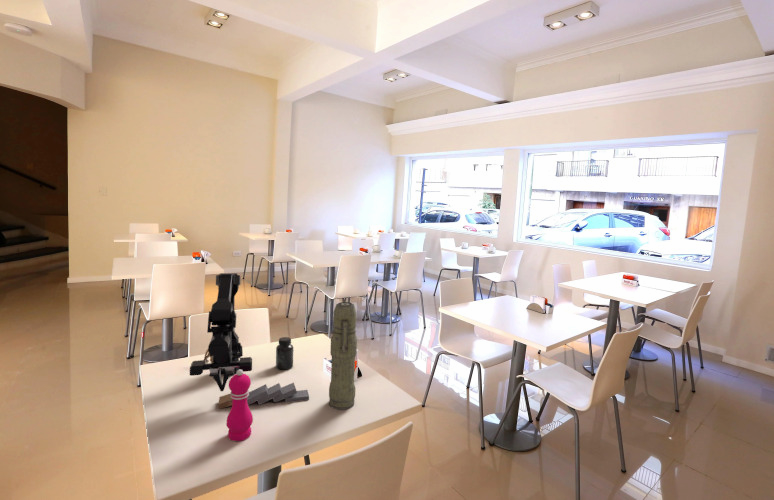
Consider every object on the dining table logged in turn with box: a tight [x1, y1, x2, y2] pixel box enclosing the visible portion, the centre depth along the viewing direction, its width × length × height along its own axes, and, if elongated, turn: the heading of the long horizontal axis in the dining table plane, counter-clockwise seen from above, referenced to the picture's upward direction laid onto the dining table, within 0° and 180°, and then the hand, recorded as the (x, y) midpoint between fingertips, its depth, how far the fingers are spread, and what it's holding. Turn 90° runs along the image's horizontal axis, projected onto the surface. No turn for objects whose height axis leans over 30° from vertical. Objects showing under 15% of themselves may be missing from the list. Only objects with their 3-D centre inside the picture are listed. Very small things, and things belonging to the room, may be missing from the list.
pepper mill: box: [225, 369, 254, 442], centre depth 118 cm, size 7×7×20 cm
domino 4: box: [272, 382, 298, 404], centre depth 142 cm, size 2×5×8 cm
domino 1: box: [217, 392, 232, 410], centre depth 136 cm, size 2×5×8 cm
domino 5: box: [284, 389, 310, 403], centre depth 143 cm, size 2×5×8 cm
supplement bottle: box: [275, 336, 294, 371], centre depth 167 cm, size 7×7×12 cm
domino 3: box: [257, 382, 282, 406], centre depth 140 cm, size 2×5×8 cm
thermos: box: [328, 301, 358, 410], centre depth 139 cm, size 9×12×35 cm
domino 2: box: [247, 383, 269, 406], centre depth 139 cm, size 2×5×8 cm
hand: (222, 390), depth 135 cm, fingers closed
